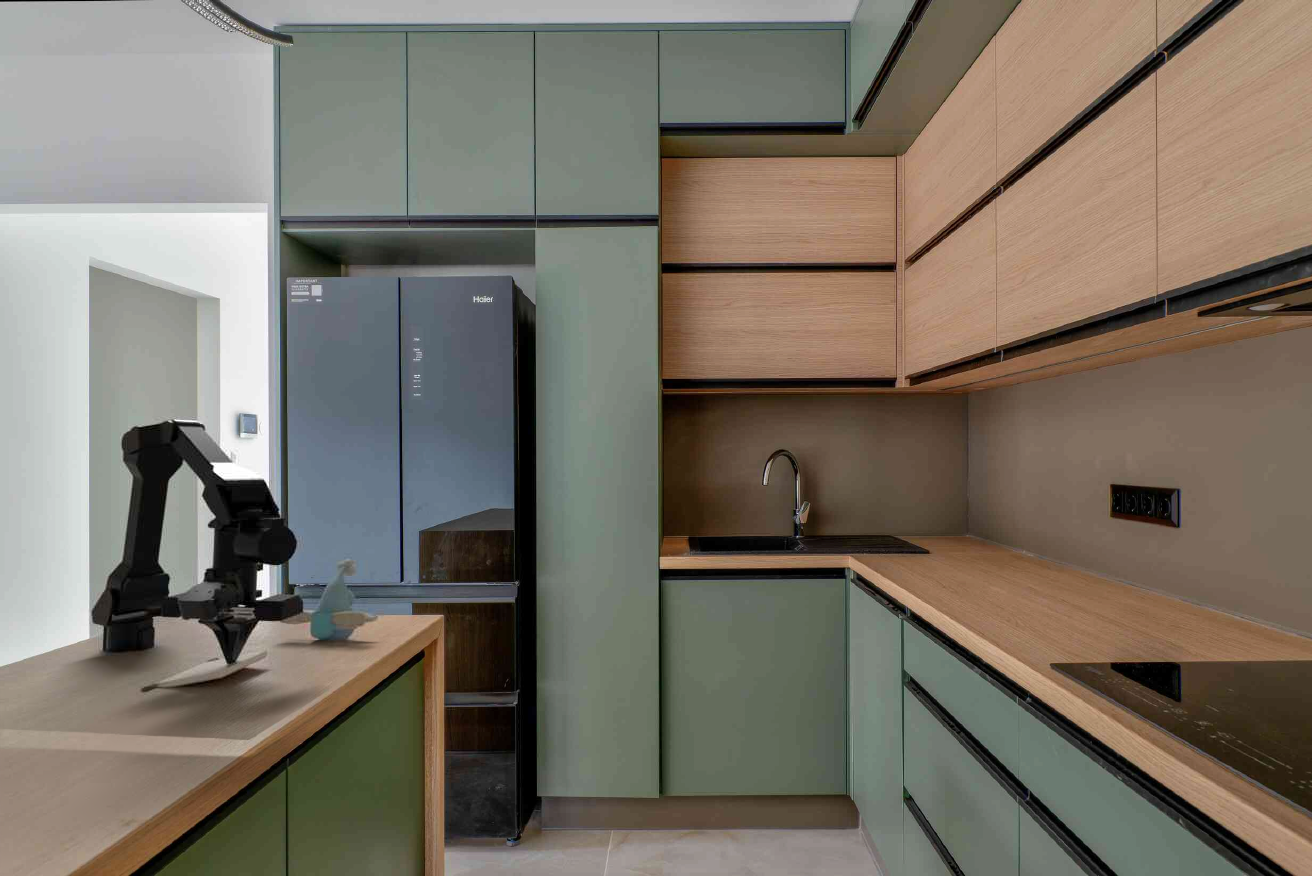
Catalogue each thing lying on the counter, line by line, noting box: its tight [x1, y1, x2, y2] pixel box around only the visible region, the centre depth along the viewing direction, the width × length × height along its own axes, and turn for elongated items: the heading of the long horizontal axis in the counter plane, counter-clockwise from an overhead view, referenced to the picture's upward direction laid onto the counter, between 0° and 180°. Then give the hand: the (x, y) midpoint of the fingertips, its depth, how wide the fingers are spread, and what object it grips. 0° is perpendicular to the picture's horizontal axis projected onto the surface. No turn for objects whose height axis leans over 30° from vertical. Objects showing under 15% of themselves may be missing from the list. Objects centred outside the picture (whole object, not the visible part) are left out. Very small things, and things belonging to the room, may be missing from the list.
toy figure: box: [279, 558, 379, 642], centre depth 121 cm, size 17×10×15 cm, turn 84°
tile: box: [155, 650, 268, 688], centre depth 97 cm, size 10×10×1 cm
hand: (231, 663), depth 97 cm, fingers closed, pressing on tile
